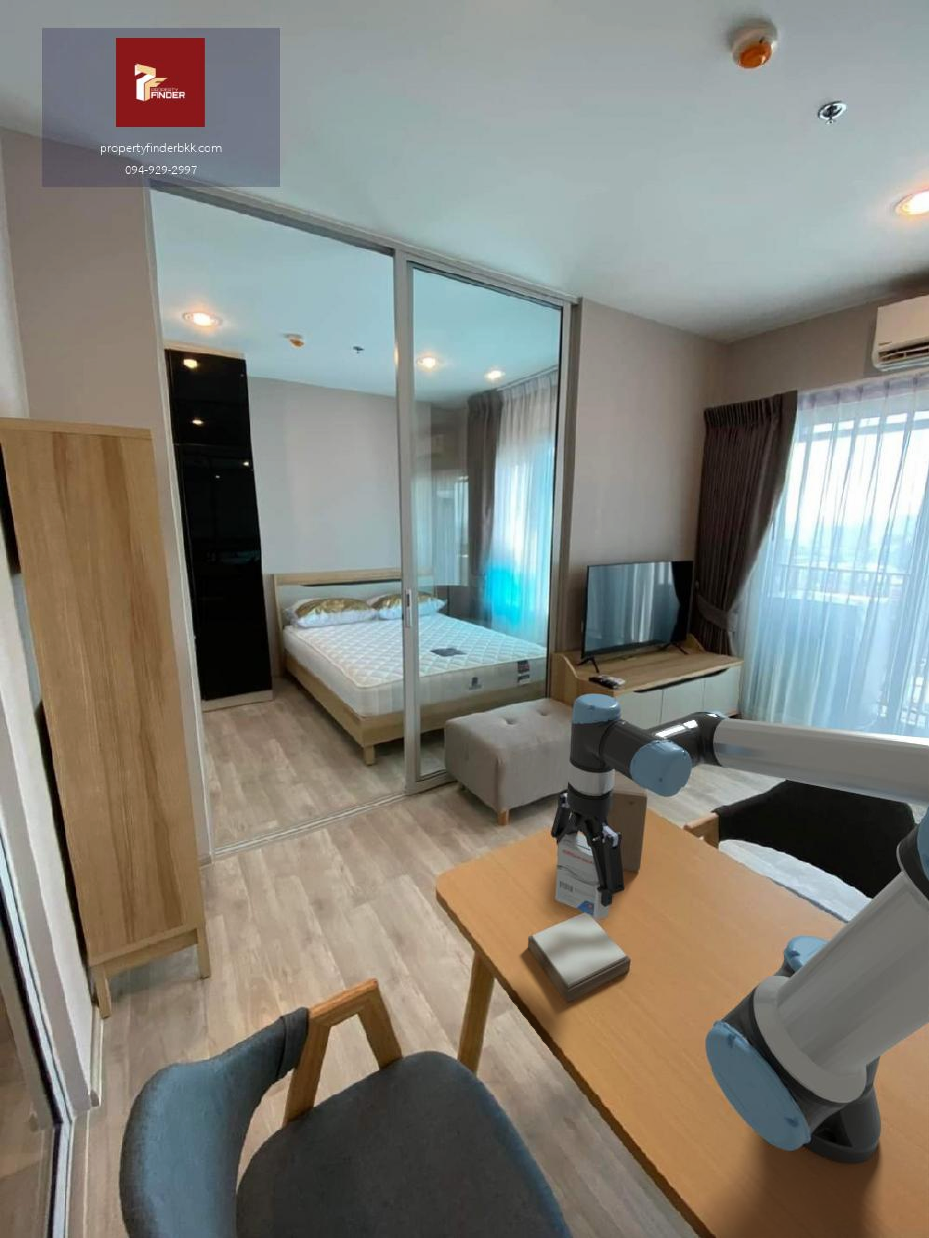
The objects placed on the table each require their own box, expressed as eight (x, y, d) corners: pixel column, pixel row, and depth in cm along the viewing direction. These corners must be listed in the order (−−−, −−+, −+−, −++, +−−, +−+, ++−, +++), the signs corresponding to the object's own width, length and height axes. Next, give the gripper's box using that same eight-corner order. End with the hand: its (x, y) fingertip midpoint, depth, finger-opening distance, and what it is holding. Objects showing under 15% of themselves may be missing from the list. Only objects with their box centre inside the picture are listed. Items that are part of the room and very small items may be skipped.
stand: (629, 970, 89) (630, 956, 89) (567, 1003, 83) (568, 988, 83) (586, 921, 100) (586, 908, 99) (527, 947, 94) (528, 934, 93)
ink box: (609, 901, 89) (614, 845, 86) (600, 920, 85) (606, 861, 82) (564, 882, 93) (567, 827, 90) (554, 899, 89) (557, 842, 86)
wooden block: (640, 874, 113) (648, 796, 108) (595, 867, 115) (601, 790, 110) (634, 845, 122) (642, 772, 118) (593, 839, 124) (598, 768, 120)
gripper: (657, 814, 75) (643, 935, 81) (567, 750, 95) (561, 851, 100) (620, 827, 72) (608, 953, 77) (535, 759, 92) (530, 863, 97)
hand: (581, 896), depth 89 cm, fingers closed on ink box, 9 cm apart
